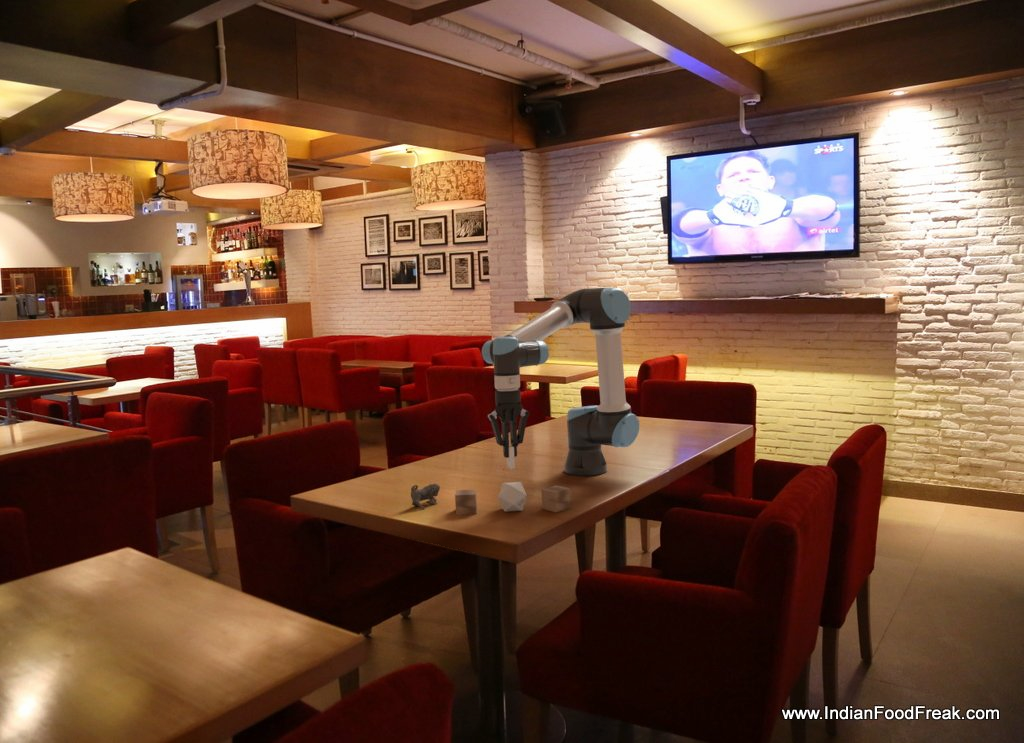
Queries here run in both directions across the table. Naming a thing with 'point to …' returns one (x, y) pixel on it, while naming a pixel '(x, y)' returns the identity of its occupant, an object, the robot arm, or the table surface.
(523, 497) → the die
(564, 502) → the walnut block
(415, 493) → the dog figurine
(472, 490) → the walnut block
